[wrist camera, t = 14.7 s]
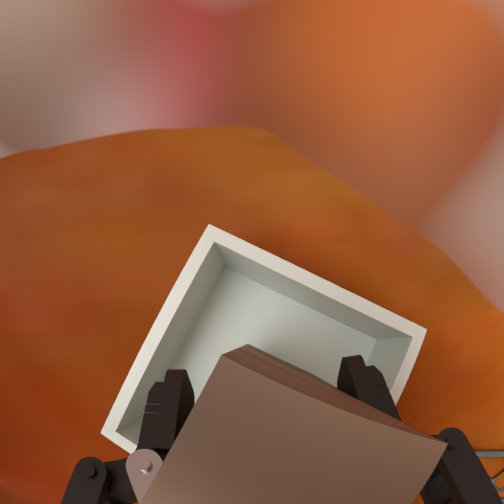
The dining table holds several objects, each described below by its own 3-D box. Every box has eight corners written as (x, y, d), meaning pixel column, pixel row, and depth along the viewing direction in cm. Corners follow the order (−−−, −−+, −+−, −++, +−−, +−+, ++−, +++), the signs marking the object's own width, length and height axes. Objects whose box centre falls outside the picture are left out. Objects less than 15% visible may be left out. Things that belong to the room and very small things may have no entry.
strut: (279, 432, 17) (324, 600, 3) (216, 403, 18) (120, 536, 3) (311, 373, 18) (448, 443, 4) (248, 343, 19) (221, 354, 4)
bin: (301, 487, 19) (315, 531, 12) (140, 411, 21) (100, 432, 14) (383, 334, 22) (427, 329, 16) (221, 256, 25) (208, 224, 18)
